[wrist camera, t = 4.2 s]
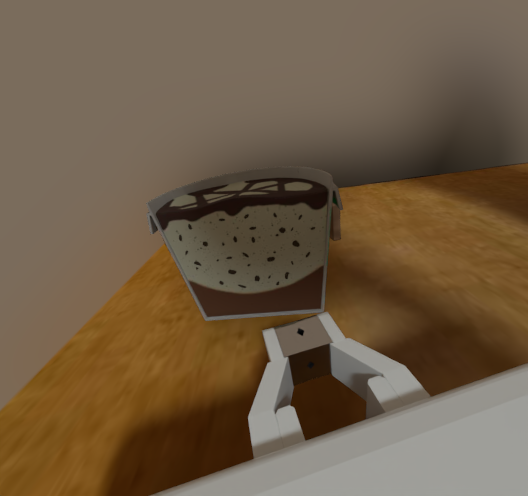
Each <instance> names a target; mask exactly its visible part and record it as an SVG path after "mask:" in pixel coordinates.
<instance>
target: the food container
mask: <svg viewBox="0 0 528 496" xmlns="http://www.w3.org/2000/svg"><path fill="white" fill-rule="evenodd" d="M332 203H334V204H335V205H336V206H337V207H338V208H339V209H340V210H342V209H343V207H342V203H341V199H340V195H339V191H338V187H337V186H336V185H335V184H334V183H333V177H332V176H331V174H329V173H328V172H326V171H323V170H320V169H316V168H310V167H292V166H291V167H290V166H287V167H270V168H269V167H268V168H259V169H252V170H246V171H239V172H234V173H229V174H224V175H220V176H215V177H211V178H208V179H204V180H201V181H197V182H194V183H191V184H188V185H185V186H182V187H179V188H176V189H174V190H171V191H169V192H167V193H164V194H162V195H160V196H158V197H157V198H155V199H153V200H151V201H149V202H148V203H146V204H147V207H148V210H149V212H148V213H147V219H148V224H149V229H150V233H151V234H154V233H155V232H156V231H157V230H159V232H160V233H161V236H162V238H163V239H164V242H165V244H166V246H167V247H168V249H169V251H170V253H171V255H172V257H173V259H174V261H175V263H176V265H177V267H178V269H179V271H180V273H181V275H182V277H183V279H184V281H185V282H186V284H187V286H188V288H189V290H190V292H191V294H192V296H193V298H194V300H195V302H196V304H197V306H198V308H199V310H200V312H201V314H202V315H203V317H204V319H205V321H208V320H222V319H236V318H250V317H264V316H278V315H292V314H306V313H320V312H324V305H325V292H326V278H327V264H328V251H329V237H330V223H331V210H332Z"/></svg>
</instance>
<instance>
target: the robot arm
mask: <svg viewBox="0 0 528 496" xmlns="http://www.w3.org/2000/svg"><path fill="white" fill-rule="evenodd" d="M262 333H263V337H264V341H265V346H266V350H267V354H268V358H269V363H267V366H266V369H265V371H264V374H263V377H262V380H261V383H260V385H259V388H258V391H257V394H256V396H255V399H254V402H253V405H252V408H251V410H250V413H249V416H248V422H249V429H250V436H251V442H252V449H253V456H254V459H252V460H249V461H246V462H244V463H241V464H238V465H235V466H232V467H229V468H227V469H224V470H221V471H218V472H215V473H212V474H209V475H207V476H204V477H201V478H198V479H195V480H192V481H190V482H187V483H184V484H181V485H178V486H175V487H172V488H170V489H167V490H164V491H161V492H158V493H155V494H152V495H150V496H528V363H526V364H523V365H520V366H517V367H514V368H512V369H509V370H506V371H503V372H500V373H497V374H494V375H492V376H489V377H486V378H483V379H480V380H477V381H475V382H472V383H469V384H466V385H463V386H460V387H457V388H455V389H452V390H449V391H446V392H443V393H440V394H437V395H435V396H432V397H431V396H430V395H429V394H428V393H427V391H426V390H425V389H424V388H423V387H422V385H421V384H420V383H419V382H418V381H417V379H416V378H415V377H414V376H413V375H412V373H411V372H410V371H409V370H408V369H407V367H406V366H404V365H402V364H400V363H398V362H396V361H394V360H392V359H390V358H388V357H386V356H384V355H382V354H380V353H378V352H376V351H374V350H372V349H370V348H368V347H366V346H364V345H362V344H360V343H358V342H356V341H354V340H352V339H350V338H347V339H346V338H345V337H344V335H343V334H342V332H341V331H340V329H339V328H338V326H337V325H336V323H335V322H334V320H333V319H332V317H331V316H330V314H329V313H328V312H324V313H321V314H318V315H314V316H311V317H308V318H304V319H301V320H298V321H295V322H292V323H288V324H284V325H280V326H276V327H274V328H270V329H266V330H262ZM329 374H332V375H333V376H334V377H335V378H337V379H338V380H339V381H341V382H342V383H343V384H344V385H346V386H347V387H348V388H350V389H351V390H352V391H354V392H355V393H356V394H358V395H359V396H360V397H361V398H363V399H364V400H365V401H367V404H366V420H363V421H360V422H357V423H355V424H352V425H349V426H346V427H343V428H340V429H338V430H335V431H332V432H329V433H326V434H323V435H321V436H318V437H315V438H312V439H309V440H306V441H305V438H304V435H303V432H302V429H301V426H300V423H299V420H298V417H297V414H296V411H295V408H294V407H292V406H290V404H291V399H292V394H293V389H294V386H295V385H298V384H301V383H304V382H306V381H309V380H312V379H316V378H319V377H322V376H326V375H329Z"/></svg>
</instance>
